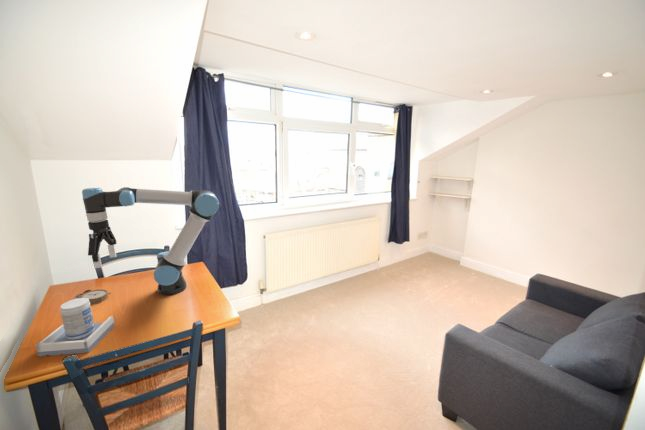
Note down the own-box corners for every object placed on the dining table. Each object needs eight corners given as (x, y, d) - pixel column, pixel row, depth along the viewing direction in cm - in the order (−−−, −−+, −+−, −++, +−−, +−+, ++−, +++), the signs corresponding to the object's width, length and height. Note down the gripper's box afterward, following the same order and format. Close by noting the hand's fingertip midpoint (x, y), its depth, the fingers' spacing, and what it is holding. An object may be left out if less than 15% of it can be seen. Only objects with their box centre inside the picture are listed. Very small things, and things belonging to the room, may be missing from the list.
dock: (114, 325, 130) (113, 316, 129) (89, 352, 112) (86, 341, 111) (71, 328, 127) (69, 318, 126) (38, 356, 110) (35, 345, 109)
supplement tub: (93, 336, 119) (87, 304, 116) (63, 344, 114) (57, 311, 111) (96, 324, 127) (90, 295, 124) (68, 331, 122) (62, 301, 119)
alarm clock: (101, 299, 148) (68, 296, 145) (100, 307, 149) (68, 305, 145) (112, 289, 159) (82, 286, 155) (112, 297, 159) (81, 295, 156)
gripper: (103, 215, 144) (110, 253, 149) (71, 227, 120) (81, 273, 125) (119, 214, 146) (126, 252, 150) (91, 226, 122) (100, 271, 127)
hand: (106, 262), depth 138 cm, fingers open, 13 cm apart
